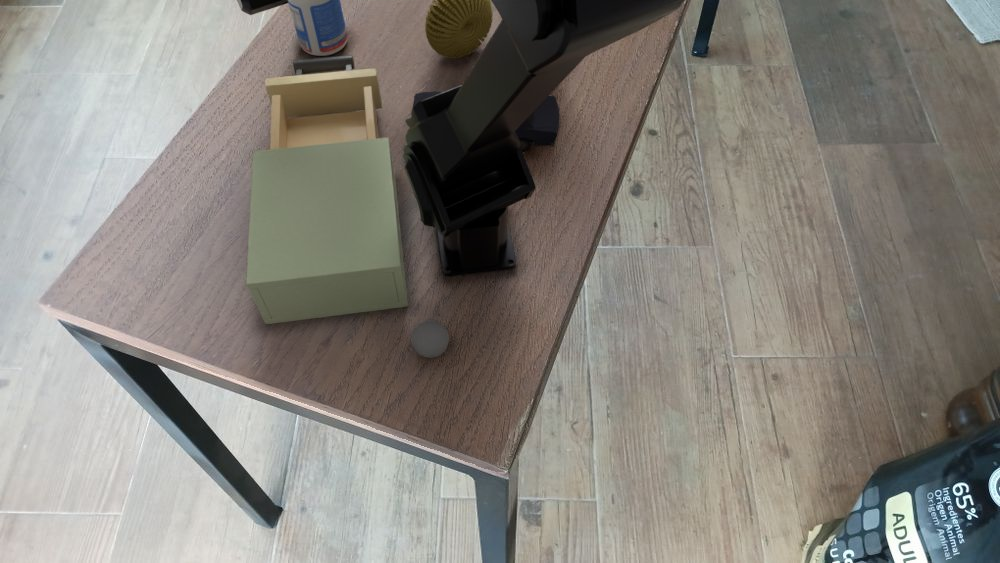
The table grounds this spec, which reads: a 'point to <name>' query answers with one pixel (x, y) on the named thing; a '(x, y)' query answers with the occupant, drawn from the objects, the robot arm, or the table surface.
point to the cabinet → (325, 231)
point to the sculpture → (458, 26)
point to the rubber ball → (430, 339)
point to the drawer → (323, 103)
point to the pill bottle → (319, 25)
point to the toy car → (529, 123)
